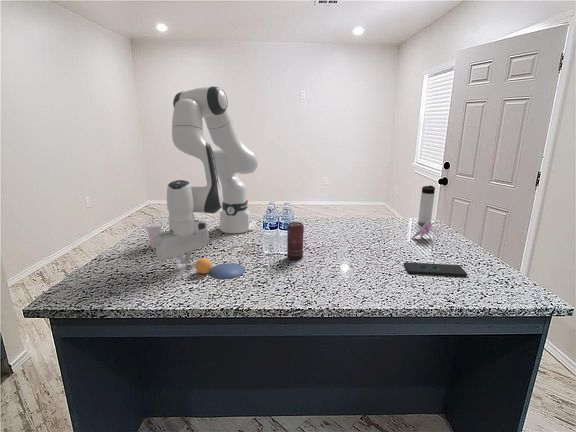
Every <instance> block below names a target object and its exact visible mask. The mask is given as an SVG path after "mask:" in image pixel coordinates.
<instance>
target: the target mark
mask: <svg viewBox="0 0 576 432" xmlns="http://www.w3.org/2000/svg"><path fill="white" fill-rule="evenodd" d="M245 273H246V267H245V266H244V265H242V264H238V263H234V262H229V263H228V262H227V263H220V264H216V265H214V266H211V270H210V271H209V272H208V273H207V274H208V275H209V276H210V277H212V278H214V279H218V280H230V279H236V278H239V277H241V276H243V275H244V274H245Z"/></svg>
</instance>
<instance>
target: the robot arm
mask: <svg viewBox="0 0 576 432" xmlns="http://www.w3.org/2000/svg"><path fill="white" fill-rule="evenodd" d="M228 103H229V102H228V97H227V93H226V92H225V91H224V90H223V88H221V87H220V86H205V87H196V88H193V89H189V90H185V91H184V90H182V91H180V92H178V93H176V94H175V96H174V98H173V101H172V104H173V112H172V113H173V114H172V120H171V137H172V139H171V140H172V143H173V144H174V146H175V147H176V149H178V150H179V151H181V153H184V154H186V155H188V156H191V157H193V158H196V159H199V160H200V161H201V162H202V164H203V167H204V174H205V179H206V185H205V186H192V185H191V183H190V181H187V180H185V179H184V180H182V179H178V180H174V181H171V182H169V183H168V185H167V187H166V206H167V208H166V209H167V211H168V229H169V230H167V231H166V230H165V231H163V232H162V231H161V233H159V235H157V237H156V248H155V254H156V258H158V259H160V260H161V261H162V260H163V261H164V260H169V259H171V258H174V257H177V258H178V260H179V263H180V265H182V266H183V265H186V264H188V263H190V262H191V261H190V259H191V257H192V254H193V251H195V250H198V249H200V248H204V247H207V246H208V245H209V243H210V236H209V235H210V234H209V230H208V229H207V228H208V223H207V222H205V221H202V220H198V219H195V214H194V213H205V214H216V213H217V212H218V211H220V210H221V209H222V211H220V213H219V225H217V226H216V228H217V230H220V231H221V232H223V233H226V234H242V233H246V232H253V231H254V230H255V228H256V223H257V221H256V220H255V219H252V212H251V211H250V209H249V207H248V204H249V199H247V197H246V195H247V191H246V189H247V187H246V184H245V183H244V182H243V181H242V180H241V179H240V178H239V176H238V174H239V175H249V174H253V173H255V171H256V170H257V169H258V164H259V160H258V157H257V155H256V153H255V152H253V151H252V150H250V149H249V148H248V147H247V146H246V145H245V144H244V142H242V140H241V139H240V137H239V135H238V134H237V132H236V131H237V130H236V129H235V126H234V124H233V123H234V122H233V120H232V116H231V114H230V113H229V110H228V105H229V104H228ZM203 119H204V122H205V124H206V127H207V130H208V133H209V136H210V138H211V141H212V143H213V144H214V145H215V146H216V147H217V148H219V149H215V150H213V148H212V146H211V144H210V143H209V142H207V141H206V140H205V137H204V131H203V130H204V129H203V127H204V126H203ZM219 181H220V183H219ZM220 186H221V188H220ZM184 254H185V256H184ZM183 256H184V257H183Z"/></svg>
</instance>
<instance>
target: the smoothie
mask: <svg viewBox="0 0 576 432" xmlns="http://www.w3.org/2000/svg"><path fill="white" fill-rule="evenodd" d="M154 219H155V218H154V215H151V220H152V222H151V223H148V224H146V225H145V229H146V232H147V236H148V239H149V244H150V247H151V249H156V237H157V235H159V233H162V228H163V224H162V223H159V222H155V220H154Z"/></svg>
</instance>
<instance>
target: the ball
mask: <svg viewBox="0 0 576 432" xmlns="http://www.w3.org/2000/svg"><path fill="white" fill-rule="evenodd" d="M212 267H213V266H212V262H211V260H209V258H206V257H202V258H199V259H198V260H196V263H195V270H196V272H197V273H199V274H201V275H204V274H209V273H208V272H209V271H210V270H211V268H212Z"/></svg>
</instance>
